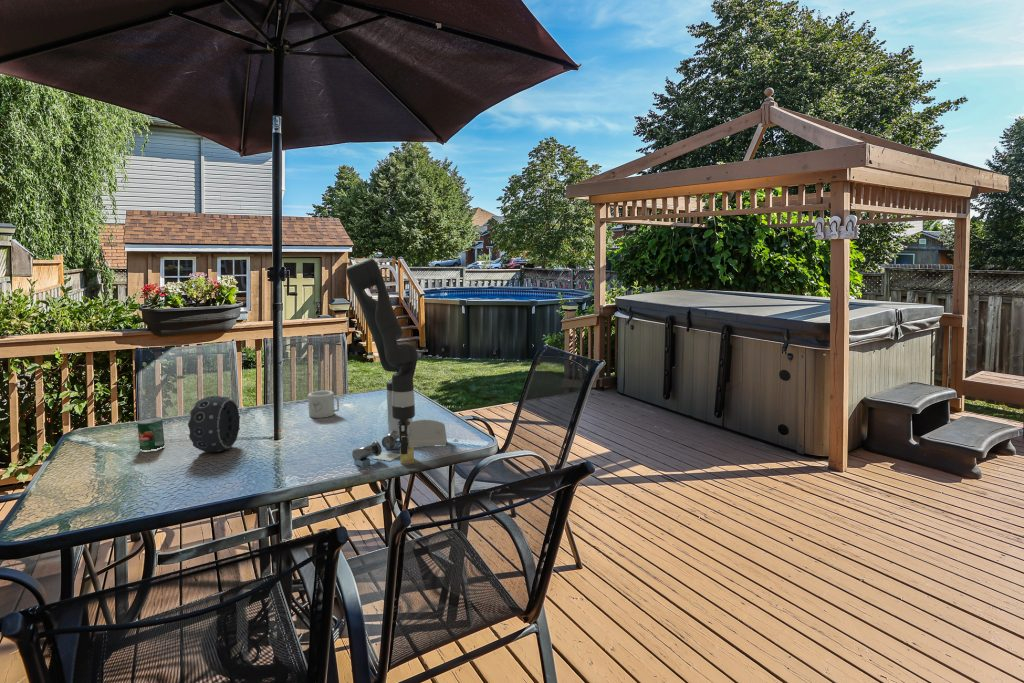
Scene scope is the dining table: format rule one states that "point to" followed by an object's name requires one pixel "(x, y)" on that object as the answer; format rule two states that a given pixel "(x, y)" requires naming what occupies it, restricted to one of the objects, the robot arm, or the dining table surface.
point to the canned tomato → (150, 433)
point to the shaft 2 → (391, 440)
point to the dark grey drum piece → (214, 423)
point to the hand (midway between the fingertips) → (404, 449)
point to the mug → (322, 404)
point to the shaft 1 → (366, 454)
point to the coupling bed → (386, 456)
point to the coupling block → (407, 455)
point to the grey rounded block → (427, 433)
